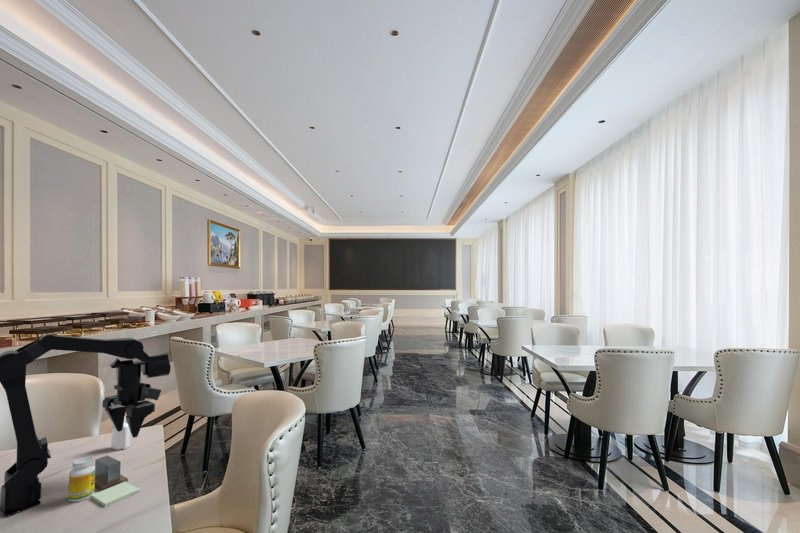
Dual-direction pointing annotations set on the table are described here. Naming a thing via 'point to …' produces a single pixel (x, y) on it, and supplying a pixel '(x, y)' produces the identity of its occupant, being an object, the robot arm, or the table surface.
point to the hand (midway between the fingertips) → (127, 434)
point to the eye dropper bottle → (121, 437)
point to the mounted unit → (108, 473)
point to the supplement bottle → (81, 480)
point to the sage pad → (115, 494)
